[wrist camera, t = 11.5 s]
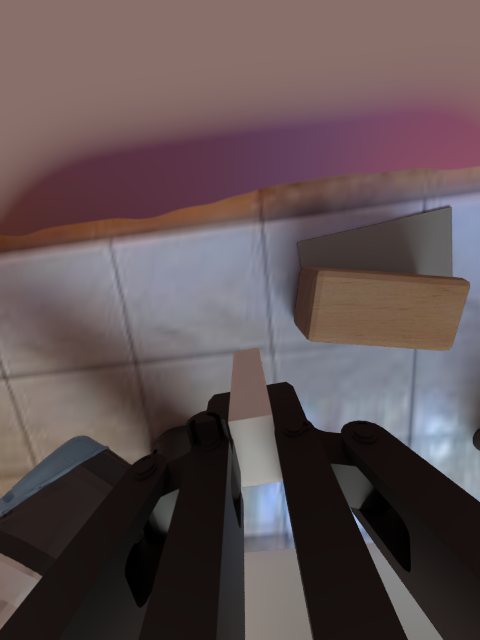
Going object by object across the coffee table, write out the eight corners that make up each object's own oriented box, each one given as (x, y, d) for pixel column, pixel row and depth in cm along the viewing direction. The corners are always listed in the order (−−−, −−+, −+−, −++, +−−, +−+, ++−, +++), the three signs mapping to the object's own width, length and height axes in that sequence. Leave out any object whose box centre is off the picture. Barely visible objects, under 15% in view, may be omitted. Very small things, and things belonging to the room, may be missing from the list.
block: (317, 267, 30) (476, 278, 30) (299, 265, 40) (420, 274, 40) (306, 343, 33) (454, 353, 32) (292, 324, 42) (406, 332, 42)
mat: (309, 323, 42) (310, 324, 42) (297, 242, 39) (297, 242, 39) (451, 294, 41) (452, 294, 40) (450, 207, 38) (451, 206, 37)
